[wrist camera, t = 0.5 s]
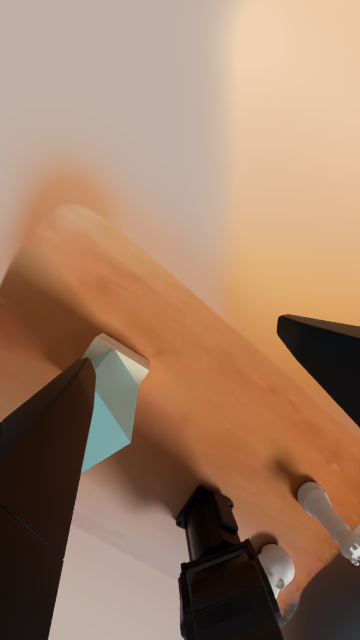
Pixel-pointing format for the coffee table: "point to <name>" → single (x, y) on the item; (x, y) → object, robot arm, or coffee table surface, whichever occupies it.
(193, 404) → the coffee table surface
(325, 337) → the robot arm
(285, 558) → the smooth white sculpture
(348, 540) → the rook chess piece
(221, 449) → the coffee table surface
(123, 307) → the coffee table surface
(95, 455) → the teal square top
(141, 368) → the post pedestal
